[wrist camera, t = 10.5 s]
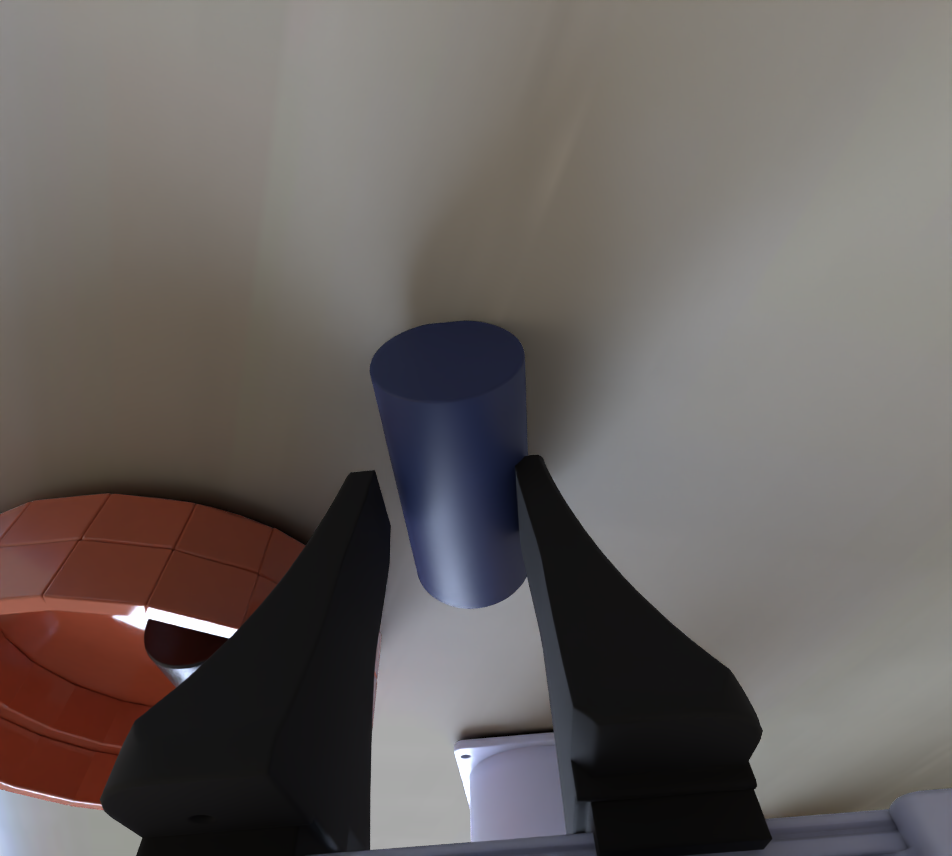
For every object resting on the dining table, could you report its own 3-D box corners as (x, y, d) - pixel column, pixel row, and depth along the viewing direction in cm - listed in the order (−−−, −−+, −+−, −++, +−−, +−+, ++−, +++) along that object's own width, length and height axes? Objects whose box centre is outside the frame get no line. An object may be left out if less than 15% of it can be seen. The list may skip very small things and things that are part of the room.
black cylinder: (310, 659, 22) (337, 735, 20) (224, 705, 21) (241, 791, 19) (250, 547, 18) (275, 626, 16) (138, 597, 17) (146, 691, 14)
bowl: (409, 695, 24) (404, 798, 21) (96, 723, 25) (46, 828, 22) (326, 456, 16) (297, 572, 13) (-156, 504, 16) (-303, 628, 13)
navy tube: (553, 577, 16) (443, 629, 15) (497, 502, 18) (400, 542, 17) (555, 368, 11) (400, 422, 10) (481, 306, 14) (350, 345, 13)
